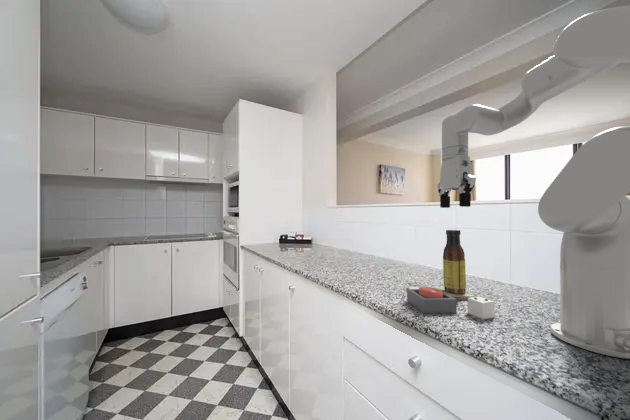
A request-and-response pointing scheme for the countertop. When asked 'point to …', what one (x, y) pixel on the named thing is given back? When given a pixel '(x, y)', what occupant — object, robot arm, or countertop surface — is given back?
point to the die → (481, 307)
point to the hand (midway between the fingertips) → (454, 207)
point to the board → (456, 296)
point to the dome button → (430, 292)
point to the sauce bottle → (454, 264)
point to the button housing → (432, 303)
